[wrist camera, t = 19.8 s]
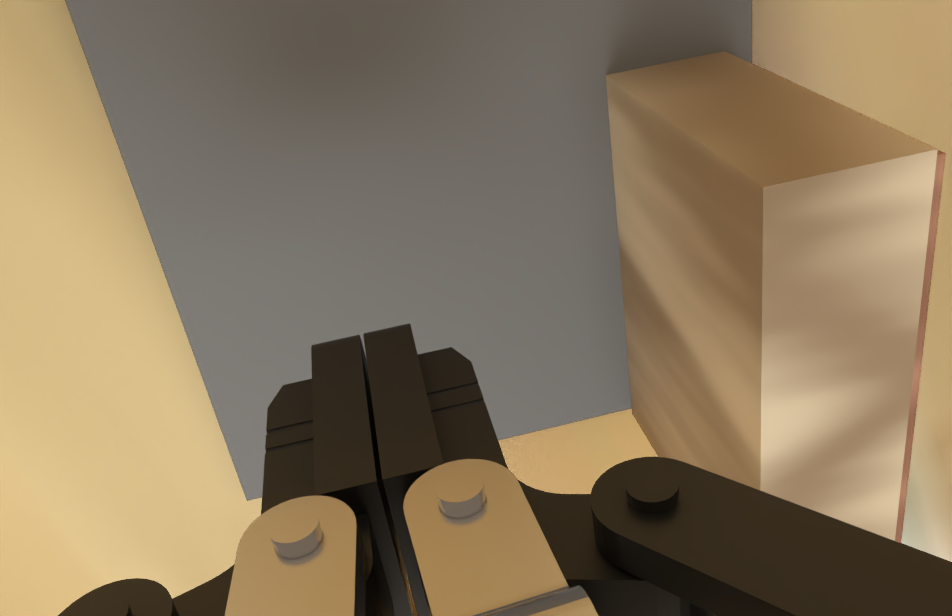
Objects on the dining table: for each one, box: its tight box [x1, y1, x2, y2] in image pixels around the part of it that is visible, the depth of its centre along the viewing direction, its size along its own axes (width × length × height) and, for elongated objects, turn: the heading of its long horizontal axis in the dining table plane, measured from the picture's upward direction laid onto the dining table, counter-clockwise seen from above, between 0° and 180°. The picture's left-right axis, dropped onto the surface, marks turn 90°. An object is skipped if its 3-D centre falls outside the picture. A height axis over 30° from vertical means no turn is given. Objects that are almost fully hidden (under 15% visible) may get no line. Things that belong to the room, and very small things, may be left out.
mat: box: [65, 0, 752, 501], centre depth 21 cm, size 15×18×1 cm
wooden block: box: [606, 51, 945, 543], centre depth 20 cm, size 3×8×10 cm
